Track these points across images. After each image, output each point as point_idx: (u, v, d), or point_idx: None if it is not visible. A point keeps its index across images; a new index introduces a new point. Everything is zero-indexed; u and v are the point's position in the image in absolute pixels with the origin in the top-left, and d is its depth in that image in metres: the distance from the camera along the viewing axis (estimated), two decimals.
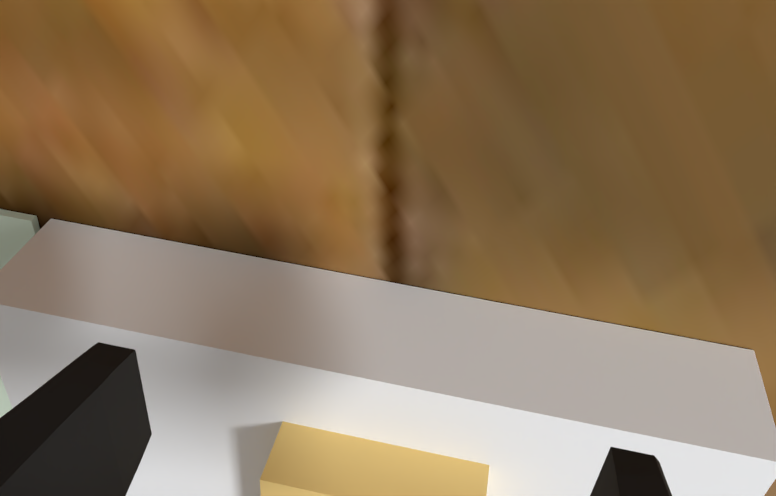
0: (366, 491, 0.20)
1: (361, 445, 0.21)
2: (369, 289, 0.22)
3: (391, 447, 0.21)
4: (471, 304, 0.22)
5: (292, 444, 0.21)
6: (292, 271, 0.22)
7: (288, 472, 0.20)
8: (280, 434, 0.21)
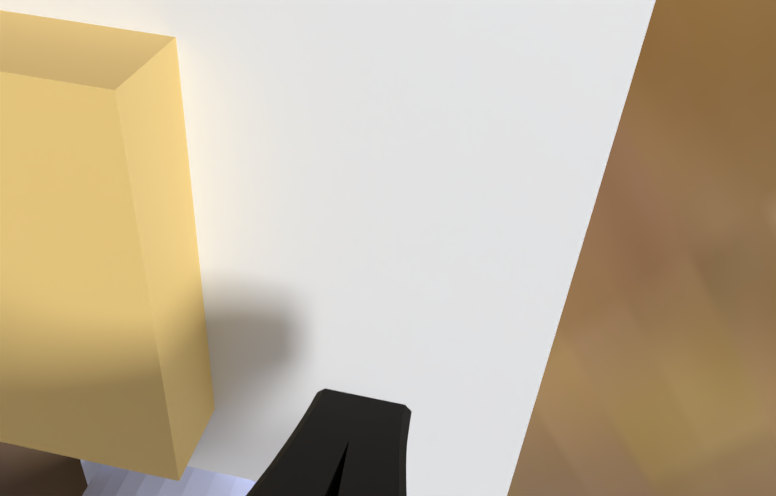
0: None
1: None
2: None
3: (9, 14, 0.12)
4: None
5: None
6: None
7: None
8: None
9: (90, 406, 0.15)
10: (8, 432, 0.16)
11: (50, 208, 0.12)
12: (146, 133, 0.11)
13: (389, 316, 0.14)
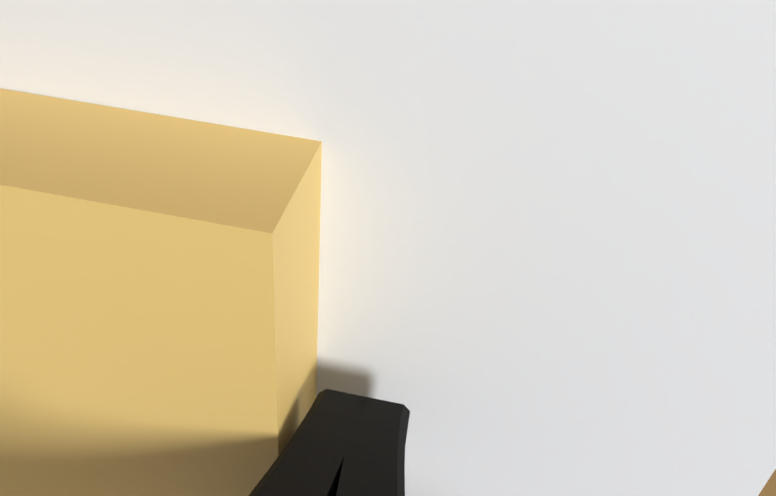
0: (11, 167, 0.08)
1: (42, 105, 0.09)
2: None
3: (110, 110, 0.09)
4: None
5: None
6: None
7: None
8: None
9: None
10: None
11: (166, 357, 0.09)
12: (292, 269, 0.09)
13: (555, 454, 0.12)
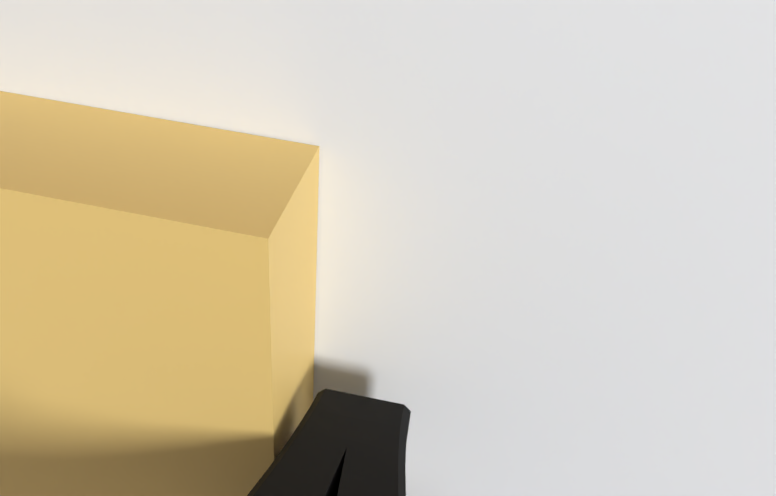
0: (10, 170, 0.08)
1: (42, 108, 0.09)
2: None
3: (109, 114, 0.09)
4: None
5: None
6: None
7: None
8: None
9: None
10: None
11: (162, 360, 0.09)
12: (288, 273, 0.09)
13: None
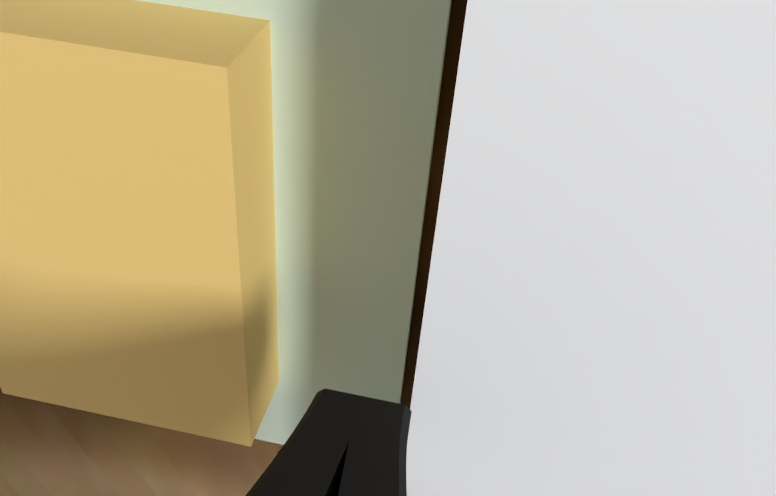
0: (102, 3, 0.12)
1: (84, 37, 0.11)
2: None
3: (28, 33, 0.11)
4: None
5: (212, 44, 0.11)
6: None
7: (223, 22, 0.12)
8: (232, 54, 0.11)
9: None
10: None
11: None
12: None
13: None
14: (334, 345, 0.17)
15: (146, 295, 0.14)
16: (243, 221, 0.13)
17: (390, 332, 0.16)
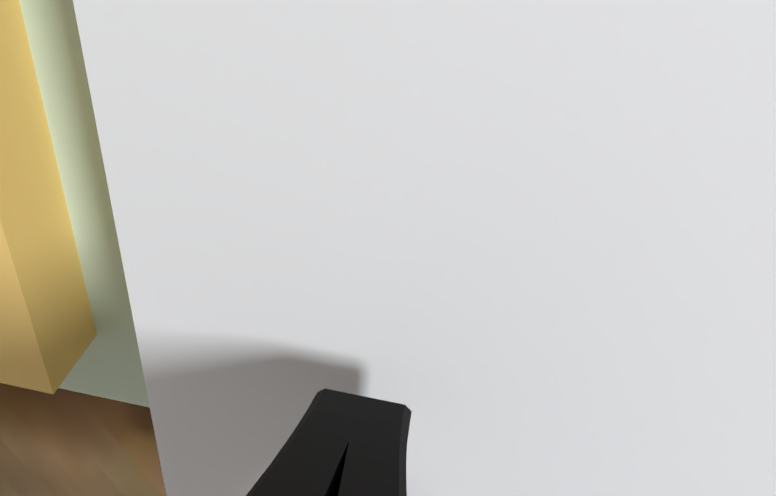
0: None
1: None
2: None
3: None
4: None
5: None
6: None
7: None
8: None
9: None
10: None
11: None
12: None
13: None
14: None
15: None
16: None
17: None
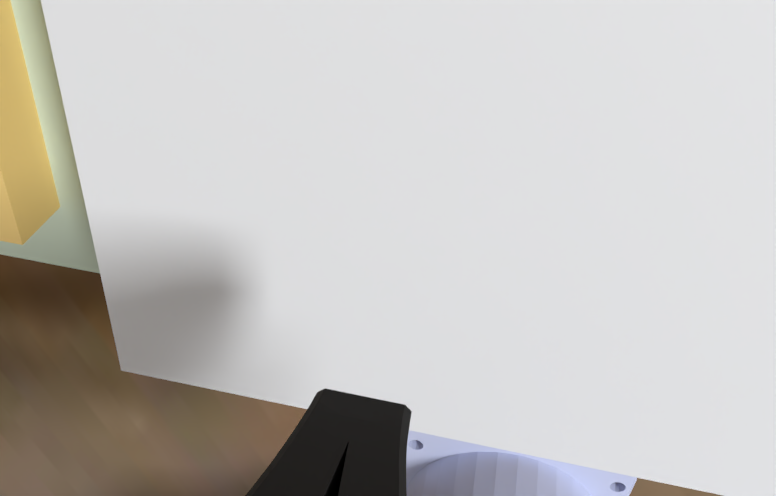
0: None
1: None
2: None
3: None
4: None
5: None
6: None
7: None
8: None
9: None
10: None
11: None
12: None
13: None
14: None
15: None
16: None
17: None
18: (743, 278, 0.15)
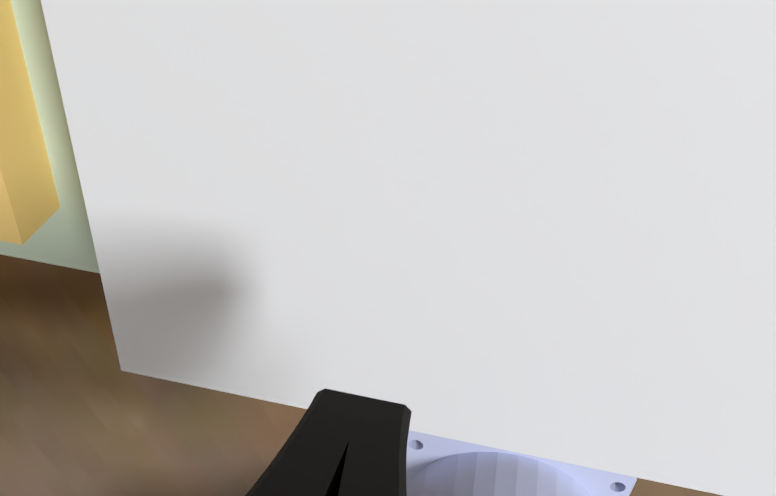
0: None
1: None
2: None
3: None
4: None
5: None
6: None
7: None
8: None
9: None
10: None
11: None
12: None
13: None
14: None
15: None
16: None
17: None
18: (743, 278, 0.15)
